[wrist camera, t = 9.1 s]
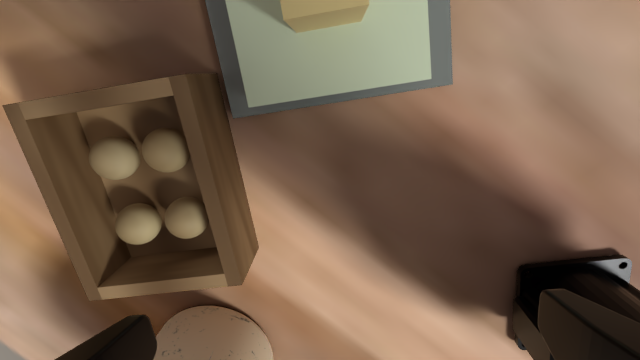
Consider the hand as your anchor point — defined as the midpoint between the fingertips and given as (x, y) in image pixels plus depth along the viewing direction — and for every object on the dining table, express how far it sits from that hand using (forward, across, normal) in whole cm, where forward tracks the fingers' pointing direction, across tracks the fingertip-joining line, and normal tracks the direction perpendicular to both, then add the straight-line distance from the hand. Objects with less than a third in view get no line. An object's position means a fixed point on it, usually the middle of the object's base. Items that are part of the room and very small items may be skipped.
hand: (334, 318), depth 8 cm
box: (+12, +10, -1) cm, 16 cm away
